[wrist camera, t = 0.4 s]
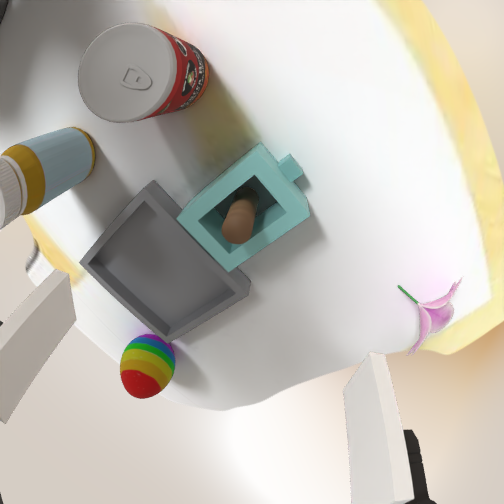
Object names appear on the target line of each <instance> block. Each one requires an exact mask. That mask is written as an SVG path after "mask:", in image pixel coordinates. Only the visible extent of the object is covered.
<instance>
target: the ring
mask: <svg viewBox="0 0 504 504" xmlns="http://www.w3.org/2000/svg"><path fill="white" fill-rule="evenodd" d="M302 174H303V171H302V168H301V167H300V166H299V164H298V163H297V162H296V161H295V159H294V158H293V157H292V156H291V154H289V155H287V156H286V157H285V158H283V159H282V160H281V161H279V162H277V161H276V159H275V158H274V157H273V156H272V155H271V153H270V152H269V151H268V150H267V149H266V148H265V146H264V145H263V144H262V143H261V142H260V143H258V144H257V145H256V146H255V147H253V148H252V149H251V150H250V151H248V152H247V153H246V154H245V155H244V156H242V157H241V158H240V159H239V160H237V161H236V162H235V163H234V164H233V165H231V166H230V167H229V168H228V169H226V170H225V171H224V172H223V173H222V174H221V175H219V176H218V177H217V178H216V179H215V180H213V181H212V182H211V183H210V184H209V185H208V186H206V187H205V188H204V189H203V190H202V191H201V192H199V193H198V194H197V195H196V196H195V197H194V198H193V199H192V200H190V202H189V203H188V204H187V205H186V207H185V208H184V209H183V210H182V212H181V213H180V214H179V216H178V217H177V218H176V219H177V220H178V221H179V222H180V223H181V224H182V225H183V227H184V228H185V229H186V230H187V231H188V232H189V233H190V234H191V235H192V236H193V237H194V238H195V239H196V240H197V241H198V242H199V243H200V244H201V245H202V246H203V247H204V248H205V249H206V250H207V251H208V252H209V253H210V254H211V255H212V256H213V257H214V258H215V259H216V260H217V261H218V262H219V263H220V264H221V265H222V266H223V267H224V268H225V269H226V270H227V271H228V272H230V271H231V270H233V269H234V268H236V267H237V266H238V265H240V264H241V263H243V262H244V261H246V260H247V259H249V258H250V257H251V256H253V255H254V254H256V253H257V252H259V251H260V250H262V249H263V248H265V247H266V246H267V245H269V244H270V243H272V242H273V241H275V240H276V239H278V238H279V237H280V236H282V235H283V234H285V233H286V232H288V231H289V230H291V229H292V228H293V227H295V226H296V225H298V224H299V223H301V222H302V221H304V220H305V219H306V218H308V217H309V216H310V212H309V207H308V202H307V197H306V196H305V195H304V194H303V192H302V191H301V190H300V189H299V187H298V186H297V185H296V184H295V182H294V180H296V179H297V178H298V177H300V176H301V175H302ZM253 175H255V176H256V177H257V178H258V179H259V180H260V182H261V183H262V184H263V185H264V186H265V187H266V189H267V190H268V191H269V192H270V193H271V194H272V196H273V197H274V198H275V199H276V200H277V202H276V203H275V204H273V205H272V206H271V207H269V208H268V209H267V210H265V211H264V212H262V213H261V214H260V215H258V216H257V217H256V218H255V220H254V225H253V229H252V234H251V237H250V239H249V240H248V241H247V242H245V243H243V244H232V243H230V242H228V241H227V240H226V239H225V238H224V237H223V235H222V225H223V223H224V220H225V219H224V218H223V217H222V216H221V215H220V214H219V213H218V212H217V210H216V209H215V208H214V207H215V206H216V205H217V204H219V203H220V202H221V201H222V200H223V199H225V198H226V197H227V196H228V195H230V194H231V193H232V192H233V191H235V190H236V189H237V188H238V187H240V186H241V185H242V184H243V183H245V182H246V181H247V180H248V179H250V178H251V177H252V176H253Z"/></svg>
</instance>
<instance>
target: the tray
mask: <svg viewBox="0 0 504 504" xmlns="http://www.w3.org/2000/svg"><path fill="white" fill-rule="evenodd" d="M181 212H182V209H181V208H180V207H179V206H178V205H177V204H176V203H175V202H174V201H173V200H172V199H171V198H170V197H169V195H168V194H167V193H166V192H165V191H164V190H163V189H162V188H161V187H160V186H159V185H158V184H157V183H156V182H155V181H154V180H153V181H152V182H151V183H149V184H148V185H147V186H145V187H144V188H143V189H142V190H141V191H140V192H139V193H138V194H137V196H136V197H135V198H134V199H133V200H132V201H131V202H130V203H129V204H128V205H127V206H126V208H125V209H124V210H123V211H122V212H121V213H120V214H119V215H118V216H117V218H116V219H115V220H114V221H113V222H112V223H111V224H110V226H109V227H108V228H107V229H106V230H105V231H104V233H103V234H102V235H101V236H100V237H99V239H98V240H97V241H96V242H95V243H94V245H93V246H92V247H91V248H90V250H89V251H88V252H87V253H86V255H85V256H84V257H83V258H82V260H81V261H80V262H79V263H80V264H81V265H82V266H83V267H84V268H85V269H86V270H87V271H88V272H89V273H90V274H91V275H92V276H93V277H94V278H95V279H96V280H97V281H98V282H99V283H100V284H101V285H102V286H103V287H104V288H105V289H106V290H107V291H108V292H109V293H110V294H111V295H112V296H113V297H115V298H116V299H117V300H118V301H119V302H120V303H121V304H122V305H123V306H124V307H125V308H127V309H128V310H129V311H130V312H131V313H132V314H133V315H134V316H135V317H137V318H138V319H139V320H140V321H141V322H142V323H143V324H145V325H146V326H147V327H148V328H149V329H150V330H152V331H153V332H154V333H155V334H156V335H158V336H159V337H160V338H161V339H162V340H164V341H165V342H166V343H167V344H168V343H170V342H172V341H173V340H175V339H177V338H178V337H180V336H182V335H183V334H185V333H187V332H188V331H190V330H192V329H193V328H195V327H197V326H199V325H200V324H202V323H204V322H205V321H207V320H208V319H210V318H212V317H213V316H215V315H217V314H218V313H220V312H222V311H223V310H225V309H227V308H228V307H230V306H232V305H233V304H235V303H236V302H238V301H240V300H241V299H243V298H244V297H246V296H248V295H249V289H250V283H251V281H250V280H249V279H248V278H247V277H246V276H245V275H244V274H243V273H242V272H241V271H240V270H239V269H238V267H236V268H234V269H233V270H231V271H230V272H228V271H227V270H226V269H225V268H224V267H223V266H222V265H221V264H220V263H219V262H218V261H217V260H216V259H215V258H214V257H213V256H212V255H211V254H210V253H209V252H208V251H207V250H206V249H205V248H204V247H203V246H202V245H201V244H200V243H199V242H198V241H197V240H196V239H195V238H194V237H193V236H192V235H191V234H190V233H189V232H188V231H187V230H186V229H185V228H184V227H183V225H182V224H181V223H180V222H179V221H178V220H177V219H176V218H177V217H178V216H179V214H180V213H181Z"/></svg>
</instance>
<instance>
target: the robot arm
mask: <svg viewBox="0 0 504 504" xmlns="http://www.w3.org/2000/svg"><path fill="white" fill-rule="evenodd" d="M7 2H8V0H0V22H1V20H2V18H3V15H4V12H5V9H6V6H7ZM75 321H76V315H75V309H74V304H73V298H72V292H71V285H70V278H69V274H68V273H65V272H63V271H60V270H57V269H56V270H54V271H53V272H52V273H51V274H50V275H49V276H48V277H47V278H46V279H45V280H44V281H43V282H42V283H41V284H40V285H39V286H38V287H37V288H36V289H35V290H34V291H33V292H32V293H31V294H30V295H29V296H28V297H27V298H26V299H25V300H24V301H23V302H22V304H21V305H20V306H19V307H18V308H17V309H16V310H15V311H14V312H13V313H12V314H11V315H10V317H8V319H7V320H6V321H5V322H4V323H3V322H1V321H0V421H2V422H3V423H5V424H6V423H7V421H8V419H9V418H10V416H11V414H12V413H13V411H14V409H15V408H16V406H17V405H18V403H19V401H20V400H21V398H22V397H23V395H24V394H25V392H26V390H27V389H28V387H29V386H30V384H31V383H32V381H33V380H34V378H35V376H36V375H37V374H38V372H39V371H40V369H41V368H42V367H43V365H44V364H45V362H46V361H47V359H48V358H49V357H50V355H51V354H52V352H53V351H54V350H55V348H56V347H57V345H58V344H59V343H60V341H61V340H62V339H63V337H64V336H65V334H66V333H67V332H68V330H69V329H70V328H71V326H72V325H73V324H74V323H75ZM343 395H344V404H345V414H346V425H347V437H348V450H349V464H350V482H351V504H436V503H435V502H434V501H432V500H430V498H429V496H428V491H427V484H426V478H425V473H424V467H423V463H422V457H421V454H420V447H419V442H418V439H417V437H416V436H415V434H414V433H413V431H412V430H403V428H402V423H401V418H400V413H399V410H398V405H397V400H396V396H395V392H394V388H393V384H392V380H391V376H390V372H389V368H388V364H387V361H386V357H385V354H381V353H374V352H369V353H368V355H367V356H366V358H365V359H364V361H363V362H362V364H361V365H360V367H359V368H358V370H357V371H356V373H355V374H354V375H353V377H352V378H351V379H350V381H349V382H348V384H347V385H346V386H345V388H344V389H343ZM0 504H3V501H2V498H1V494H0Z"/></svg>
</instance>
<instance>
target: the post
mask: <svg viewBox="0 0 504 504" xmlns="http://www.w3.org/2000/svg"><path fill="white" fill-rule="evenodd" d="M258 201H259V196H258V194H257V192H256V191H255V190H254V189H252V188H249V187H244V188H241V189H239V190H238V191H237V193H236V195H235V197H234V200H233V202H232V204H231V207H230V209H229V211H228V213H227V216H226V218H225V220H224V223H223V225H222V235H223V237H224V238H225V239H226V240H227V241H228V242H230V243H232V244H243V243H245V242H247V241H248V240H249V239H250V237H251V234H252V229H253V225H254V220H255V215H256V211H257V206H258Z"/></svg>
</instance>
